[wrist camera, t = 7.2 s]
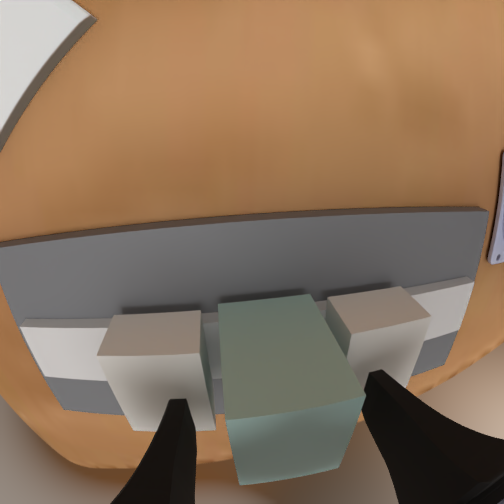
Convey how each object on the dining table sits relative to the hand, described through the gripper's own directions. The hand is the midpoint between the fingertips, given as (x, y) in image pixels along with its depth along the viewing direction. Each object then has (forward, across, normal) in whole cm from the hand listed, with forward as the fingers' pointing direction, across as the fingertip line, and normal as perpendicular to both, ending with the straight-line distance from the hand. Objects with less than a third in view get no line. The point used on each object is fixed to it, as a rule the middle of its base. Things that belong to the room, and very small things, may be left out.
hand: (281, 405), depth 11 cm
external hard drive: (+6, +14, -18) cm, 23 cm away
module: (+4, 0, 0) cm, 4 cm away
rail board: (+5, 0, 0) cm, 5 cm away
